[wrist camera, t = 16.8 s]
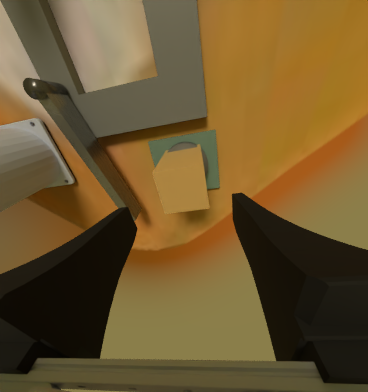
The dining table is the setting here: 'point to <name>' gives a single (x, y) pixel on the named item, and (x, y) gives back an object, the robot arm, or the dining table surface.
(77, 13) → the dining table surface
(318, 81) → the dining table surface
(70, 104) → the retaining bar
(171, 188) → the plug
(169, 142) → the pad
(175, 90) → the dock plate
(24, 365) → the robot arm
